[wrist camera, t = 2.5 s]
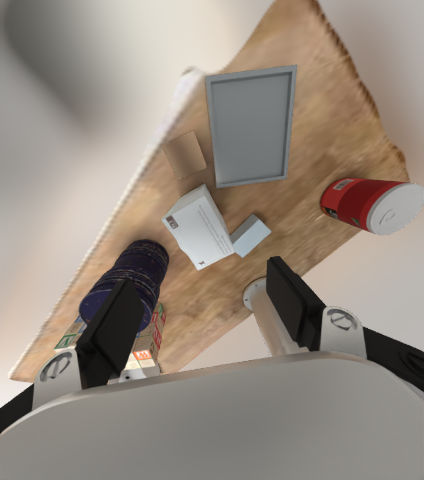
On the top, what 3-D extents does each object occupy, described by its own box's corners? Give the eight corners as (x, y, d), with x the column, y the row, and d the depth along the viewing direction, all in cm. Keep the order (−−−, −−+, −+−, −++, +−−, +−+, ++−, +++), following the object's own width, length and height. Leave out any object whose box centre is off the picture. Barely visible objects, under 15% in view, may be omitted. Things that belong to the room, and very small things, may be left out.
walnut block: (194, 136, 26) (193, 130, 21) (205, 166, 28) (207, 167, 23) (167, 149, 26) (161, 145, 22) (181, 178, 28) (178, 180, 24)
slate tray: (290, 71, 23) (297, 64, 21) (281, 177, 30) (286, 178, 28) (205, 82, 23) (205, 76, 21) (216, 187, 29) (217, 188, 28)
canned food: (312, 212, 33) (360, 232, 24) (331, 173, 30) (396, 177, 20) (341, 218, 35) (398, 239, 25) (363, 181, 31) (439, 188, 21)
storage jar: (146, 230, 32) (109, 276, 19) (178, 260, 36) (166, 316, 23) (115, 256, 34) (61, 314, 21) (148, 281, 38) (121, 344, 25)
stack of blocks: (91, 326, 44) (55, 380, 33) (81, 311, 41) (38, 365, 30) (166, 317, 44) (155, 367, 33) (161, 302, 42) (148, 351, 31)
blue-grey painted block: (252, 213, 33) (259, 219, 29) (263, 224, 34) (271, 231, 30) (226, 238, 35) (229, 247, 31) (238, 248, 36) (242, 257, 33)
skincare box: (223, 217, 32) (240, 253, 19) (198, 230, 33) (198, 274, 20) (203, 180, 29) (207, 193, 15) (176, 196, 30) (158, 221, 16)
